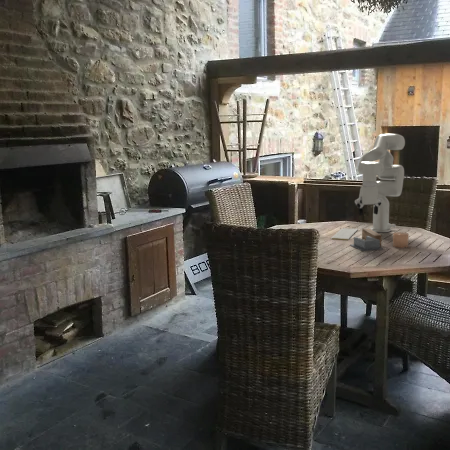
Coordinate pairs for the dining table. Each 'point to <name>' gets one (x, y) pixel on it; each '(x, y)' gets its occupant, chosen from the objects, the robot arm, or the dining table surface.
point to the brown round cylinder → (400, 239)
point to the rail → (371, 234)
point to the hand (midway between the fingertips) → (368, 214)
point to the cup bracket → (366, 244)
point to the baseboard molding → (344, 234)
